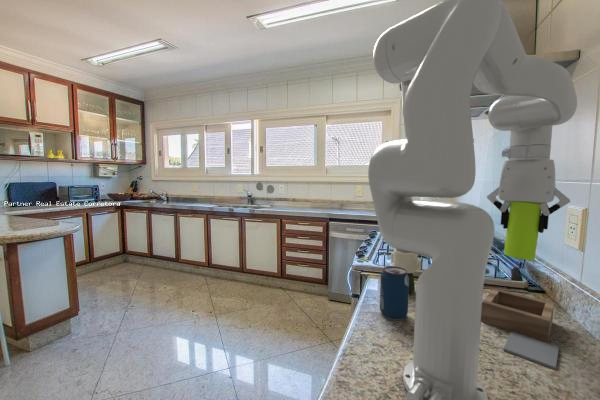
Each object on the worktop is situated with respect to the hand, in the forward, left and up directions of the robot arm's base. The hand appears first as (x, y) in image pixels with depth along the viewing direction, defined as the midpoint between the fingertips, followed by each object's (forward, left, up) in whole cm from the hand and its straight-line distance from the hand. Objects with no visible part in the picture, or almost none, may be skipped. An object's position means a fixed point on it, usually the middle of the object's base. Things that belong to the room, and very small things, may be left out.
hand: (523, 229), depth 67 cm
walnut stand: (0, 0, -23) cm, 23 cm away
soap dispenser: (0, 0, -7) cm, 7 cm away
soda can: (-19, +23, -24) cm, 38 cm away
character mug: (-2, +28, -24) cm, 37 cm away
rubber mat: (-12, -4, -23) cm, 26 cm away
